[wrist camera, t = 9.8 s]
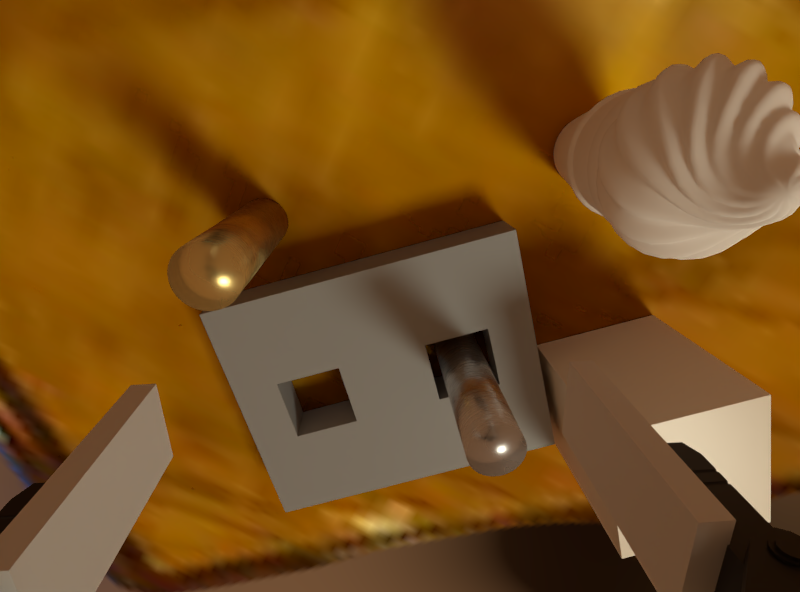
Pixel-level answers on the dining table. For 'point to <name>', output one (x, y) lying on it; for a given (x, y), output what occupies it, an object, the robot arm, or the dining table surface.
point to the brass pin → (227, 255)
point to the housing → (669, 404)
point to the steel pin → (480, 408)
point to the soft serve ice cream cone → (688, 158)
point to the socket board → (378, 362)
